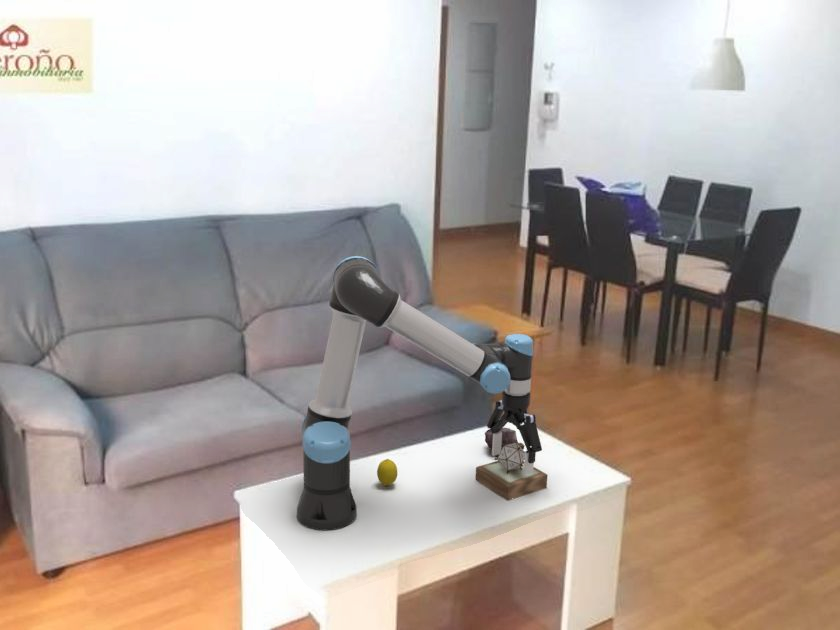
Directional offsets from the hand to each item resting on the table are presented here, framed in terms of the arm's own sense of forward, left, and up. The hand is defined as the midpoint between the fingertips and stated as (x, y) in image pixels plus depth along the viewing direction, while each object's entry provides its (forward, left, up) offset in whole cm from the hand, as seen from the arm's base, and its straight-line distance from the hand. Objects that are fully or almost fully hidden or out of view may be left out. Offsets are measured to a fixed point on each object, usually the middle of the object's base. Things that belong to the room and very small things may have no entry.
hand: (512, 463), depth 239 cm
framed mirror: (0, 0, -6) cm, 6 cm away
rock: (+10, +17, -7) cm, 21 cm away
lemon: (-30, +17, -6) cm, 35 cm away
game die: (0, 0, -2) cm, 2 cm away
